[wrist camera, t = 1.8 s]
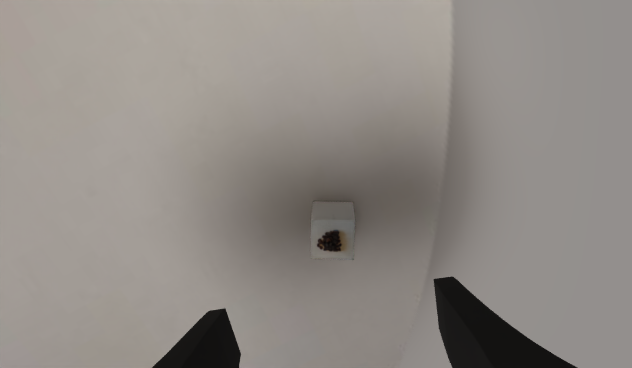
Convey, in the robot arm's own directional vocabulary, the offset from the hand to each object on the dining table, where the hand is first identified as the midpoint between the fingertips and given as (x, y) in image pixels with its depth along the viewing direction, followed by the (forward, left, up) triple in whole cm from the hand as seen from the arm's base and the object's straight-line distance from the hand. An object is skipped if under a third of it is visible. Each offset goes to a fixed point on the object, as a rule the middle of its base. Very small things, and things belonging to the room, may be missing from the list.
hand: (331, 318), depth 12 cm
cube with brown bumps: (0, 0, -8) cm, 8 cm away
